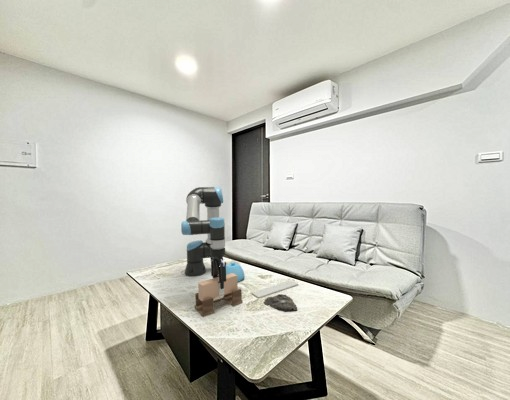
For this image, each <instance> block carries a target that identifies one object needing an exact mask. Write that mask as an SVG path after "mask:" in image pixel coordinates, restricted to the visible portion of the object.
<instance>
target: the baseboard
mask: <svg viewBox="0 0 510 400" xmlns="http://www.w3.org/2000/svg"><path fill="white" fill-rule="evenodd" d="M297 286H299V281H298V282H297V281H294V279H289V280H287V281H282V282H280V283H277V284H274V285H271V286H267V287H263V288H261V289H258V290H254V291H251V292H250V294H251V295H252V296H254V298H257V299H258V300H259V299H262V298H265V297H269V296H271V295H274V294H276V293H280V292H282V291H285V290H288V289H291V288H294V287H297Z"/></svg>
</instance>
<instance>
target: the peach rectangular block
mask: <svg viewBox="0 0 510 400" xmlns="http://www.w3.org/2000/svg"><path fill="white" fill-rule="evenodd" d="M218 282H219V277H216V278H213V277H212V278H210V279H206V280H202V281H198V282H197V285H198V286H197V287H198V288H197V291H198V292H197V293H198V295H199V299H200V300H201V301H202V300H205V299H209V298H213V300H214V299H217V298H220V297H223V296H224V295H225V294H228V293H231V292H232V291H235V290H238V289H239V288H238V282H237V275H235V274H233V273H230V274H227V275H226V282H224V294H223V295H220V296H219V286H218Z"/></svg>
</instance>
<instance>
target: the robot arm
mask: <svg viewBox="0 0 510 400" xmlns="http://www.w3.org/2000/svg"><path fill="white" fill-rule="evenodd" d="M185 201H186V204H187V205H186V214H185V217H186V218H185V221H181V228H180V229H181V234H182V236H194V235H207V238H206V239H205V242H204V241H203V240H194V241H191V242H189V243H187V245H186V267H185V269H184V275H185V274H186V275H185V276H187V275H188V277H199V276H202V275H204V274H206V273H207V270H206V266H205V263H204V259H210V273H211V274H210V276H211V277H212V279H213V278H216V277H219V282H218V286H219V296H220V295H222V296H224V295H223V294H224V282H226V266H227V261H224V256H225V255H226V248H225V247H226V238H225V237H226V236H225V235H226V231H225V225H226V224H225V218H224V217H222V216H221V217H220V208H221V206H222V204H224V195H223V191H222V188H221V187H219V186H204V187H202V186H201V187H200V186H199V187H195V188H193V189H192V190H191V191H190V192H189V193H188V194H187V195H186V200H185ZM200 204H201V205H203V204H204V206H205V208H206V212H207V213H206V216H207V217H206V220H201V219H200V217H201V216H200V215H201V214H200V213H201V212H200V207H201V206H200ZM220 297H221V296H220Z"/></svg>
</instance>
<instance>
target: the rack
mask: <svg viewBox="0 0 510 400" xmlns="http://www.w3.org/2000/svg"><path fill="white" fill-rule="evenodd" d="M242 297H243V296H242V288H238V290H235V291H232V292H231V293H228V294H225V295H223V296H222V297H221V298H220V297H219V298H218V299H217V298H216V299H215V300H214V299H213V298H209V299H205V300H202V301H201V300H200V299H199V295H198V292H196V293H195V305H194V309H195V310H196V311H197V312H198V314H200V315H201V317H202V318H203V317H204V318H205V317H206V316H210V315H211V314H215V313H216V312H215V309H214V304H215V303H218V302H221V301H225V302H226V303H227V304H229V305H230V306H232V307H234V306H237V305H240V304H243V301H244V300H243V298H242Z"/></svg>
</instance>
